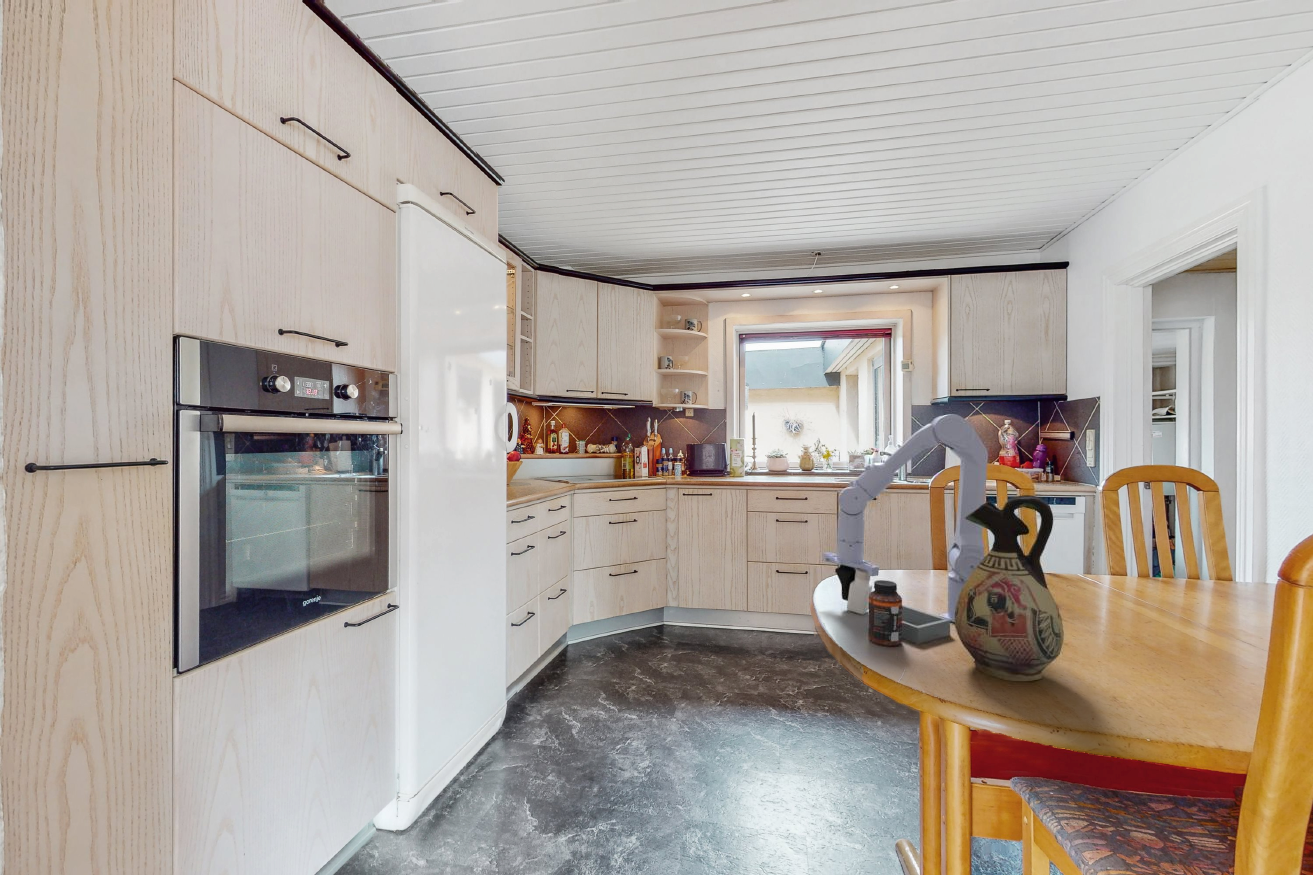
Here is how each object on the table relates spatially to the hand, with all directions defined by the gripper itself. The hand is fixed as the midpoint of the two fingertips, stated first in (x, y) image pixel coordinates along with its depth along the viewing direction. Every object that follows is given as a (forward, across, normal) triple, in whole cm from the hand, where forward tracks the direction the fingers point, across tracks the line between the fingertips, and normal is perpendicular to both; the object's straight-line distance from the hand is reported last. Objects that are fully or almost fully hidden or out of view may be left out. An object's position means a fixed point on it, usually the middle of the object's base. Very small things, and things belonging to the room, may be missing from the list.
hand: (848, 599), depth 125 cm
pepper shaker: (+2, +3, 0) cm, 3 cm away
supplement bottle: (+2, +18, -9) cm, 20 cm away
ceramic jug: (+1, +37, -1) cm, 37 cm away
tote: (+2, +17, 0) cm, 17 cm away
